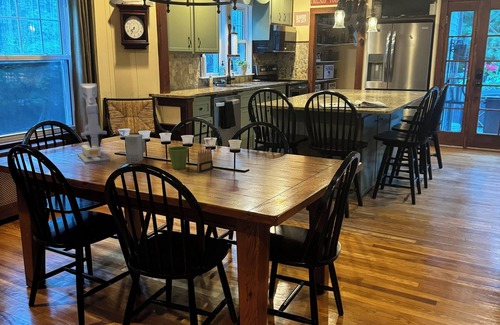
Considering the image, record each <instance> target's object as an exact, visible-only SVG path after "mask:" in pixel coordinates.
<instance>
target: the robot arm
mask: <svg viewBox="0 0 500 325" xmlns="http://www.w3.org/2000/svg"><path fill="white" fill-rule="evenodd" d="M80 94H81V97H82V98H83V99H84V100H85V104H86V106H85V110H86V111H85V112H86V117H87V124H86V125H85V126H84V132H81V133H80V135H81V137H84V138H85V139H86V140H87V143H86V145H90V148H92V144H95V145H96V146H98V147H99V148H100V149H101V146H102V145H101V143H102V140H103V137H104V135H108V133H107V132H108V131H106V130H101V126H100V124H99V116H98V114H99V107H98V104H97V100H96V98H98V85H97V83H96V82H95V83H80ZM101 153H103V152H102V151H101Z"/></svg>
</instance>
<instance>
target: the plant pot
mask: <svg viewBox="0 0 500 325" xmlns="http://www.w3.org/2000/svg"><path fill="white" fill-rule="evenodd" d="M189 149H190V147H189V146H184V145H181V146H180V145H179V146H178V145H177V146H171V147H168V148H167V152H168V154H169V158H170V162H171V166H172V169H173V170H184V169H186V167H187V161H188V160H187V158H188V153H189Z"/></svg>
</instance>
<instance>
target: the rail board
mask: <svg viewBox="0 0 500 325" xmlns="http://www.w3.org/2000/svg"><path fill="white" fill-rule="evenodd" d="M96 147H98V146H96V145H95V144H92V148H96ZM87 148H90V145H88V144H83V145H81V152H82V153H77V157H79V159H80V160H81V161H82V162H83V163H84V164H85V165H86V164H94V163H101V162H102V163H103V162H111V161H110V160H111V159H110V158H109V157H108V156H107V155H105V154H104V153H103V152H102V153H101V156H94V157H86V153H85V149H87Z"/></svg>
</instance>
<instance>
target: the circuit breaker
mask: <svg viewBox="0 0 500 325" xmlns="http://www.w3.org/2000/svg"><path fill="white" fill-rule="evenodd" d="M124 144H125V150H126V151H125V152H126V153H125V160H126V161H125V162H127V163H140V162H141V161H143V160H144V153H146V140H145V139H143V134H130V133H129V134H127V135H126V136H125V139H124Z"/></svg>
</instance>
